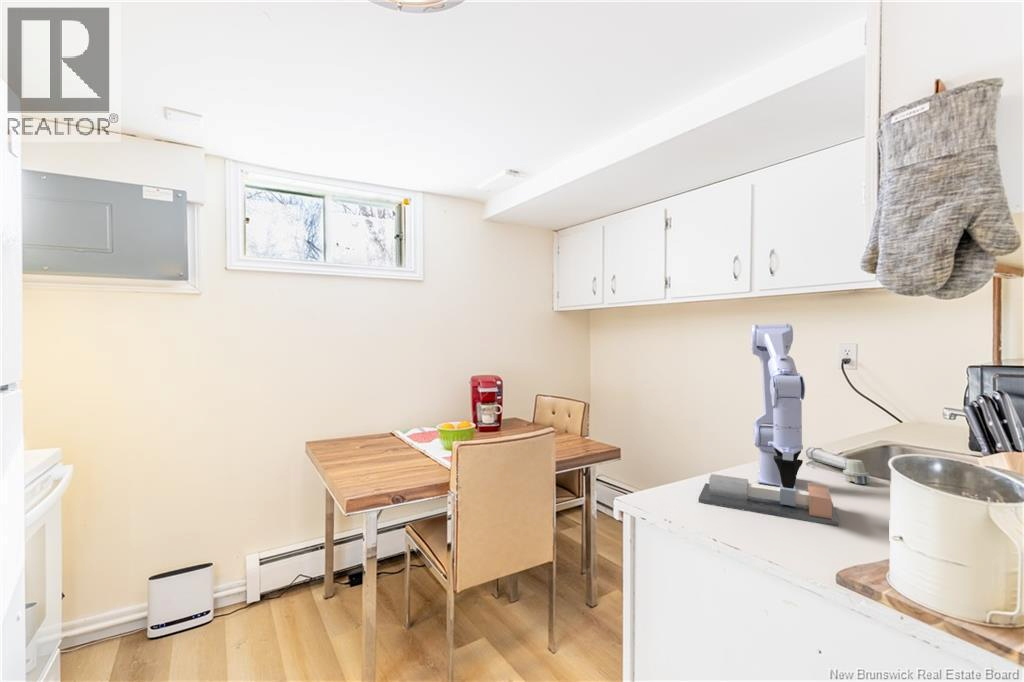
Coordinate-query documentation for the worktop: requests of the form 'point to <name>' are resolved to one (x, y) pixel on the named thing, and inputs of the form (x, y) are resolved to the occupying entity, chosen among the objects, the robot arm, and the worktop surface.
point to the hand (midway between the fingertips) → (787, 482)
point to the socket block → (819, 500)
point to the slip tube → (779, 494)
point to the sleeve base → (754, 500)
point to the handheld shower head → (840, 464)
